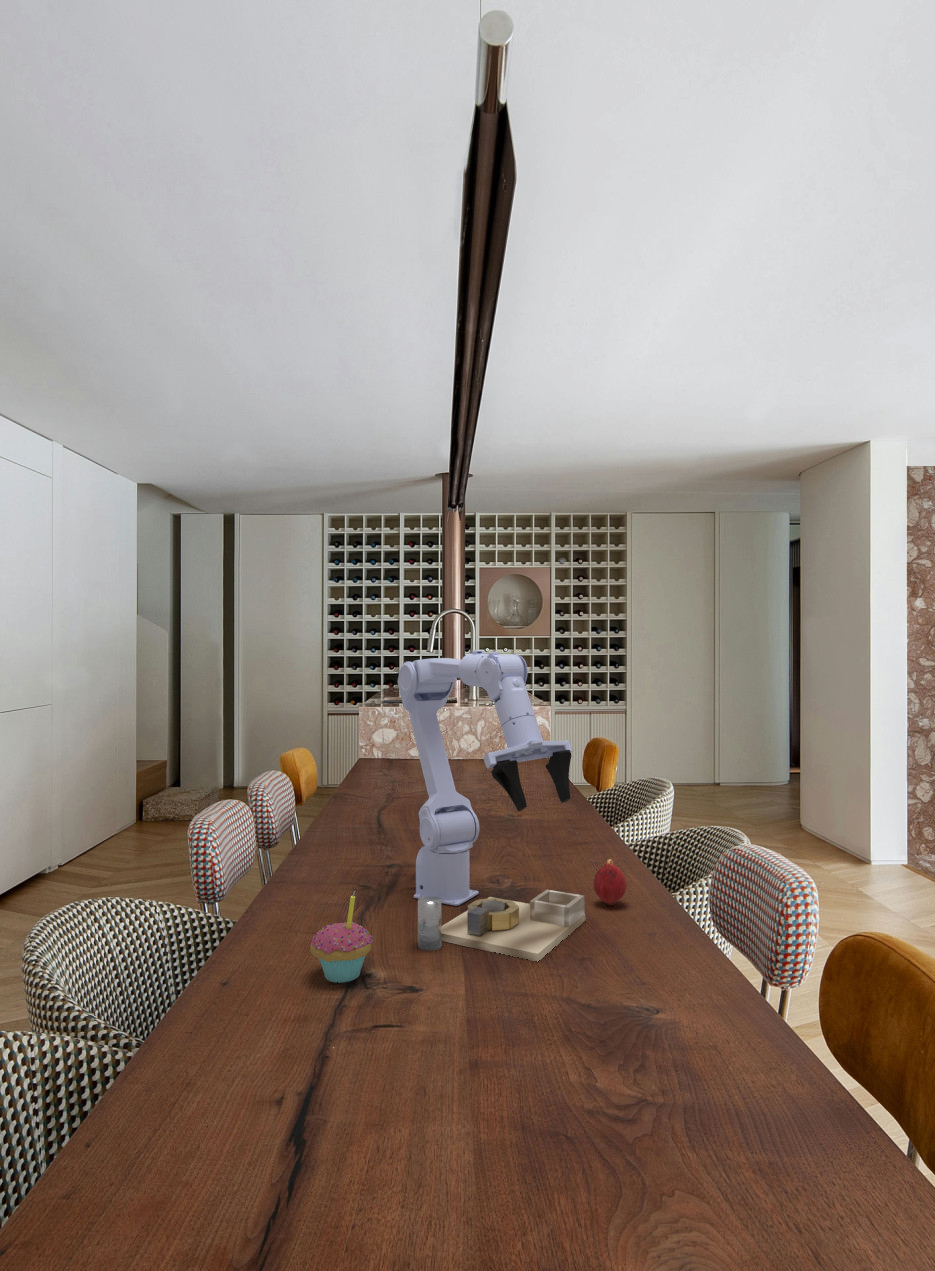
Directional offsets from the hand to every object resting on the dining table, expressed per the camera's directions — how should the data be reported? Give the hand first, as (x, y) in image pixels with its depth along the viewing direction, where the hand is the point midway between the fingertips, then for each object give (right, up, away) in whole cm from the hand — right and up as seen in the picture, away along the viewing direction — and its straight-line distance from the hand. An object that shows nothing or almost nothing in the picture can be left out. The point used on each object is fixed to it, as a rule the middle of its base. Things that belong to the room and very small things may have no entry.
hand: (544, 804), depth 117 cm
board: (-5, -22, +7) cm, 23 cm away
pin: (-18, -22, 0) cm, 28 cm away
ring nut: (-8, -20, +6) cm, 23 cm away
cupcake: (-29, -22, -10) cm, 38 cm away
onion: (+13, -22, +19) cm, 32 cm away
